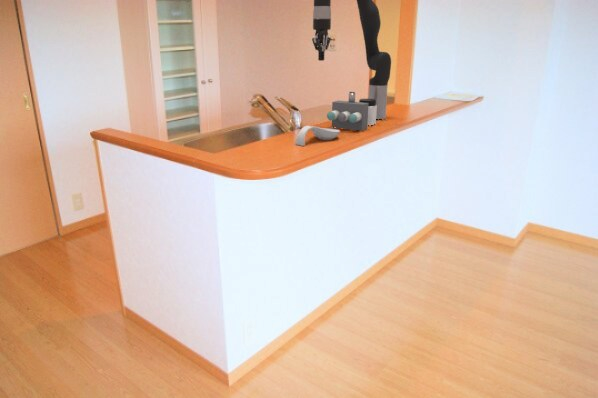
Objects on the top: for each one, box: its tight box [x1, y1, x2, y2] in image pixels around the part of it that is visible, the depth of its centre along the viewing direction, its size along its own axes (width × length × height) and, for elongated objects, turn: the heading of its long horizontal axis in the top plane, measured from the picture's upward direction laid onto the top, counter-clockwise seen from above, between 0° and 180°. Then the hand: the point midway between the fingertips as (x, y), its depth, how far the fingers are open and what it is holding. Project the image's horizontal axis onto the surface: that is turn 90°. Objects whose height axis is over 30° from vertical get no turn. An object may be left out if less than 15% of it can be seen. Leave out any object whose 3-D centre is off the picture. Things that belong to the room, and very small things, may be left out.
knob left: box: [326, 110, 340, 121], centre depth 223 cm, size 11×4×4 cm, turn 149°
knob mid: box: [338, 111, 350, 122], centre depth 221 cm, size 11×4×4 cm, turn 149°
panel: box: [331, 99, 369, 132], centre depth 223 cm, size 6×16×12 cm, turn 59°
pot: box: [348, 91, 356, 103], centre depth 222 cm, size 3×3×5 cm
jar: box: [358, 98, 377, 126], centre depth 232 cm, size 9×8×12 cm
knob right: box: [349, 112, 362, 123], centre depth 218 cm, size 11×4×4 cm, turn 149°
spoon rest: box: [295, 125, 341, 147], centre depth 200 cm, size 24×12×7 cm, turn 142°
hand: (321, 60), depth 210 cm, fingers closed
